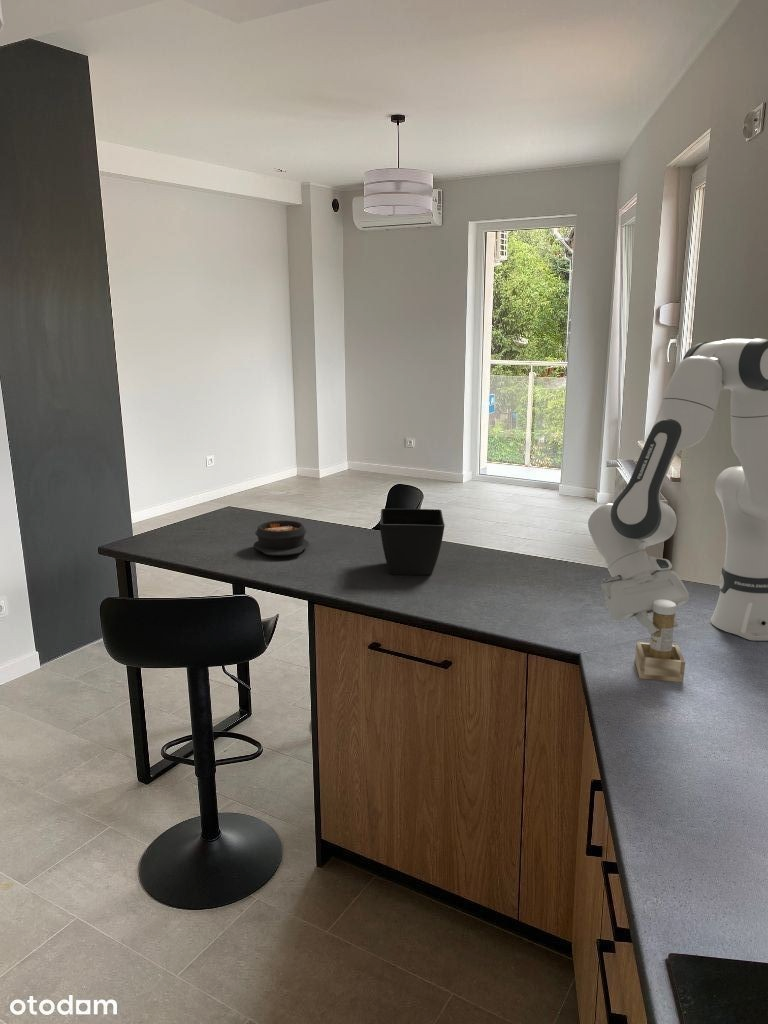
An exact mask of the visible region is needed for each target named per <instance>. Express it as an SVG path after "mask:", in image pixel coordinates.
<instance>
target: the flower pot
mask: <svg viewBox="0 0 768 1024" xmlns="http://www.w3.org/2000/svg"><path fill="white" fill-rule="evenodd" d="M379 520H380V521H379V528H380V529H379V530H380V538H381V542H382V543H381V544H382V550H383V554H384V557H385V562H386V565H387V569H388V571H389V574H391V575H402V576H403V575H406V576H407V575H411V576H414V575H415V576H416V575H417V576H422V575H423V576H430V575H432V574H433V572H434V570H435V566H436V564H437V561H438V559H439V555H440V552H441V551H440V550H441V547H442V542H443V539H444V538H443V537H444V532H445V527H446V526H445V525H446V524H445V521H444V517H443V511H442V509H439V508H438V509H436V508H435V509H434V508H431V509H430V508H429V509H428V508H381V509H380V519H379Z"/></svg>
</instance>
